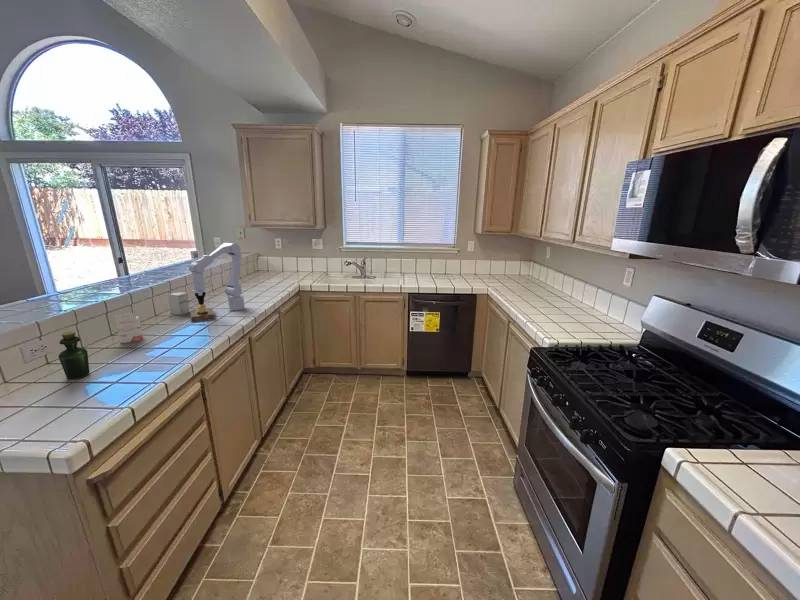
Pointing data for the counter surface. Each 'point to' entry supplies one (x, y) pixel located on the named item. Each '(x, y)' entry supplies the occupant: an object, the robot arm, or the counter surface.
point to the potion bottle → (73, 357)
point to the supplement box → (178, 303)
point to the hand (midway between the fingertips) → (201, 304)
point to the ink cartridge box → (128, 328)
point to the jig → (202, 315)
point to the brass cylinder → (202, 309)
